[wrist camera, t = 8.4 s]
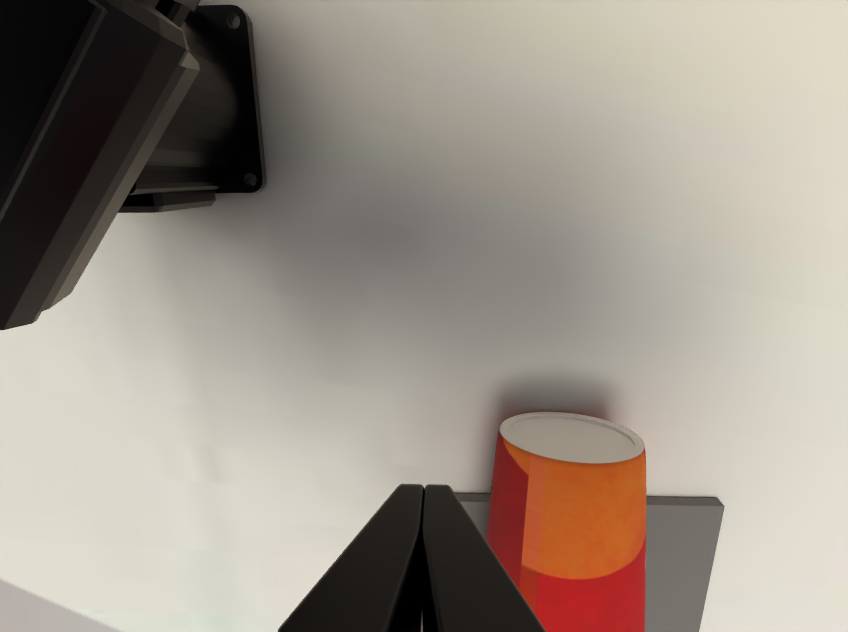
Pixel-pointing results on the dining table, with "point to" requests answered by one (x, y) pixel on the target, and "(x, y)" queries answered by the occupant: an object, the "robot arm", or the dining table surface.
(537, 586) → the paper cup
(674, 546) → the mat
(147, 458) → the dining table surface
